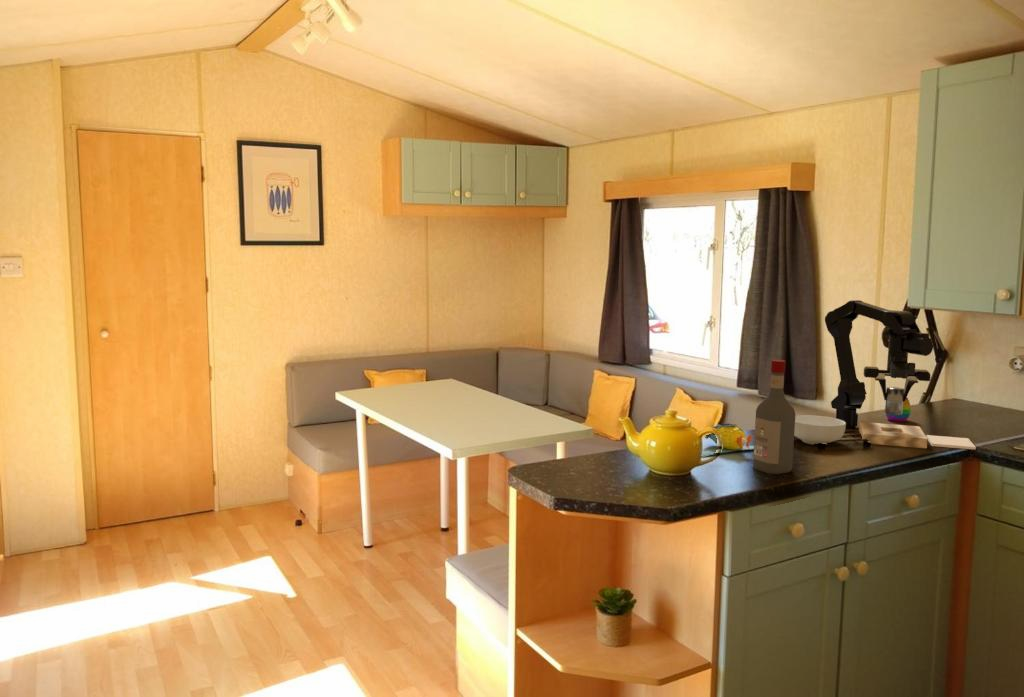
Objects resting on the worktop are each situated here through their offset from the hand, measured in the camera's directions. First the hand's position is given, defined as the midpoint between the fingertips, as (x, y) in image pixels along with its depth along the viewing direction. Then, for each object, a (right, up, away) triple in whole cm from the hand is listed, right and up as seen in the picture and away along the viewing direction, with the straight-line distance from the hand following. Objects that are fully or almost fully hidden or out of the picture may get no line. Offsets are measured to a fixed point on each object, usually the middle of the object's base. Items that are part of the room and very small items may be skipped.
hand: (894, 400), depth 269 cm
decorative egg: (+15, -9, +30) cm, 35 cm away
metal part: (0, -4, +1) cm, 4 cm away
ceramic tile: (+16, -13, -3) cm, 21 cm away
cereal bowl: (-26, -13, -3) cm, 29 cm away
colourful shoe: (-56, -15, -15) cm, 60 cm away
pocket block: (0, -12, +2) cm, 12 cm away
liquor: (-49, -17, -36) cm, 63 cm away
